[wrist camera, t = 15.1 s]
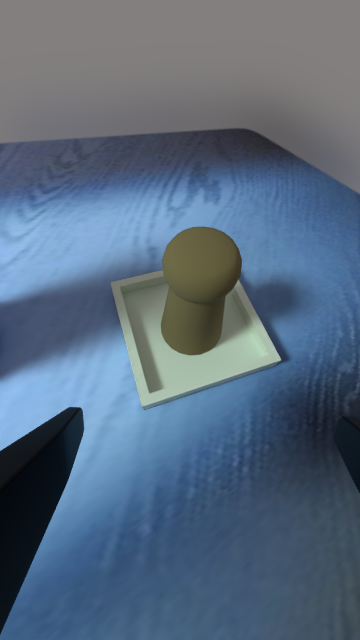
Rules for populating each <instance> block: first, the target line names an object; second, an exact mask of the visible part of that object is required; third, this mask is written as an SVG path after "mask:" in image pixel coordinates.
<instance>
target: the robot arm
mask: <svg viewBox="0 0 360 640" xmlns="http://www.w3.org/2000/svg"><path fill="white" fill-rule="evenodd" d="M83 432H84V421H83V411H82V409H81V408H80V407H69V408H67V409H66V410H64V411H62V412H61V413H59V414H58V415H56V416H55V417H53V418H51V419H50V420H48V421H47V422H45V423H44V424H42V425H40V426H39V427H37V428H36V429H34V430H33V431H31V432H29V433H28V434H26V435H25V436H23V437H22V438H20V439H18V440H17V441H15V442H14V443H12V444H11V445H9V446H7V447H6V448H4V449H3V450H1V451H0V634H1V632H2V629H3V627H4V625H5V622H6V620H7V618H8V616H9V613H10V611H11V609H12V607H13V604H14V602H15V600H16V597H17V595H18V593H19V591H20V588H21V586H22V584H23V582H24V579H25V577H26V575H27V573H28V570H29V568H30V566H31V563H32V561H33V559H34V557H35V554H36V552H37V550H38V548H39V545H40V543H41V541H42V538H43V536H44V534H45V532H46V529H47V527H48V525H49V523H50V520H51V518H52V516H53V513H54V511H55V509H56V507H57V504H58V502H59V500H60V498H61V495H62V493H63V491H64V489H65V486H66V484H67V481H68V479H69V476H70V473H71V470H72V467H73V464H74V461H75V458H76V455H77V452H78V449H79V445H80V442H81V439H82V436H83ZM334 441H335V444H336V446H337V448H338V450H339V452H340V454H341V456H342V458H343V460H344V462H345V465H346V467H347V469H348V471H349V473H350V475H351V477H352V479H353V481H354V483H355V485H356V487H357V489H358V491H359V492H360V420H359V419H357V418H355V417H353V416H340V417H339V418H338V421H337V424H336V428H335V432H334Z"/></svg>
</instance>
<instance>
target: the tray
mask: <svg viewBox="0 0 360 640" xmlns="http://www.w3.org/2000/svg"><path fill="white" fill-rule="evenodd" d="M110 283H111V287H112V291H113V295H114V299H115V303H116V307H117V311H118V315H119V319H120V322H121V326H122V330H123V334H124V338H125V342H126V346H127V350H128V354H129V358H130V362H131V365H132V369H133V373H134V377H135V381H136V385H137V389H138V393H139V397H140V401H141V405H142V407H143V409H144V410H146V409H149V408H152V407H155V406H158V405H161V404H164V403H167V402H170V401H172V400H175V399H178V398H181V397H184V396H187V395H190V394H193V393H196V392H199V391H202V390H205V389H208V388H211V387H214V386H217V385H220V384H223V383H226V382H229V381H232V380H235V379H238V378H241V377H244V376H247V375H250V374H252V373H255V372H258V371H261V370H264V369H267V368H270V367H273V366H275V365H276V364H277V363H279V362H280V361H281V358H280V356H279V355H278V353H277V351H276V349H275V347H274V345H273V343H272V341H271V340H270V338H269V336H268V334H267V332H266V330H265V328H264V326H263V324H262V323H261V321H260V319H259V317H258V315H257V313H256V311H255V309H254V308H253V306H252V304H251V302H250V300H249V298H248V296H247V294H246V293H245V291H244V289H243V287H242V285H241V283H240V281H239V279H238V281H237V283H236V285H235V286H234V288H233V290H232V291H231V292H230V293H229V294H227V295H226V298H225V307H224V315H223V324H222V332H221V337H220V339H219V341H218V343H217V344H216V346H214V347H213V348H212V349H211V350H210V351H208V352H206V353H203V354H201V355H191V356H190V355H185V354H181V353H179V352H177V351H175V350H173V349H172V348H171V347H170V346H169V345H168V344H167V343H166V342H165V340H164V338H163V336H162V333H161V321H162V316H163V312H164V307H165V302H166V298H167V293H168V289H169V286H168V284H167V282H166V280H165V277H164V275H163V270H159V271H155V272H151V273H147V274H143V275H139V276H135V277H130V278H126V279H122V280H118V281H114V282H110Z"/></svg>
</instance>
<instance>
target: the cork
mask: <svg viewBox="0 0 360 640" xmlns="http://www.w3.org/2000/svg"><path fill="white" fill-rule="evenodd" d="M162 262H163V275H164V277H165V280H166V282H167V284H168V286H169V289H168V293H167V298H166V302H165V307H164V312H163V316H162V321H161V333H162V336H163V338H164V340H165V342H166V343H167V344H168V345H169V346H170V347H171V348H172V349H173V350H175V351H177V352H179V353H181V354H185V355H190V356H191V355H201V354H203V353H206V352H208V351H210V350H211V349H212V348H213V347H214V346H216V344H217V343H218V341H219V339H220V337H221V332H222V324H223V315H224V307H225V298H226V295H227V294H229V293H230V292H231V291H232V290H233V288H234V286H235V285H236V283H237V281H238V279H239V277H240V273H241V266H242V259H241V255H240V252H239V249H238V247H237V246H236V244H235V243H234V241H233V240H232V238H230V237H229V236H228V235H226V234H225V233H224V232H222V231H219V230H217V229H215V228H209V227H192V228H189V229H186V230H183V231H182V232H180V233H179V234H177V235H176V236H175V237H174V238H173V239H172V240H171V241H170V243H169V244H168V245H167V247H166V250H165V253H164V256H163V259H162Z"/></svg>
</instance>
